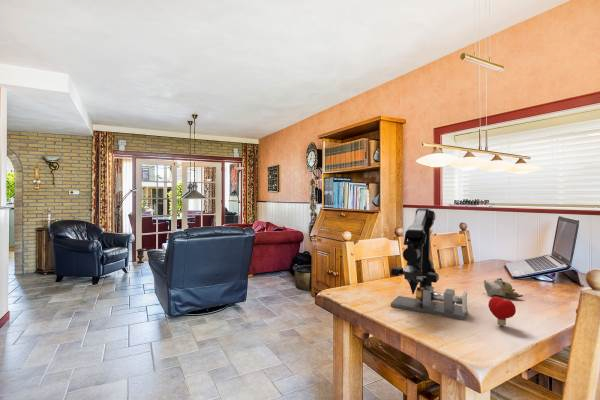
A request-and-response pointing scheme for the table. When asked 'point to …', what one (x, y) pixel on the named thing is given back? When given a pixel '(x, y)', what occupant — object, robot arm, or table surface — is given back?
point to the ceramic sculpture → (500, 289)
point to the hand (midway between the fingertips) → (413, 294)
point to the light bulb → (501, 309)
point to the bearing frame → (434, 304)
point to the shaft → (436, 296)
